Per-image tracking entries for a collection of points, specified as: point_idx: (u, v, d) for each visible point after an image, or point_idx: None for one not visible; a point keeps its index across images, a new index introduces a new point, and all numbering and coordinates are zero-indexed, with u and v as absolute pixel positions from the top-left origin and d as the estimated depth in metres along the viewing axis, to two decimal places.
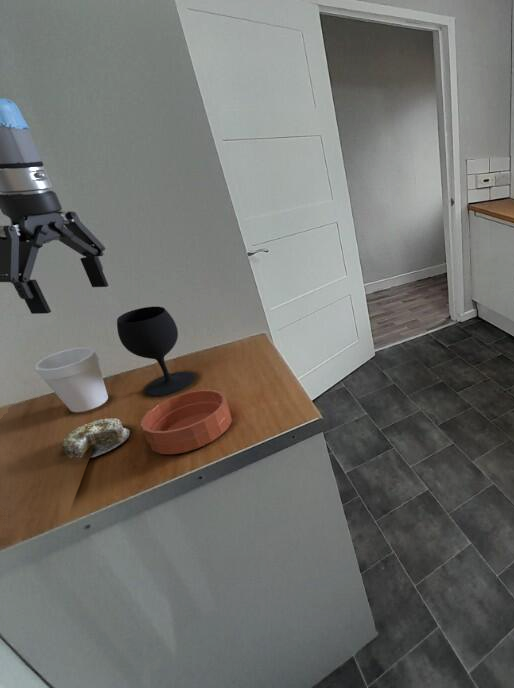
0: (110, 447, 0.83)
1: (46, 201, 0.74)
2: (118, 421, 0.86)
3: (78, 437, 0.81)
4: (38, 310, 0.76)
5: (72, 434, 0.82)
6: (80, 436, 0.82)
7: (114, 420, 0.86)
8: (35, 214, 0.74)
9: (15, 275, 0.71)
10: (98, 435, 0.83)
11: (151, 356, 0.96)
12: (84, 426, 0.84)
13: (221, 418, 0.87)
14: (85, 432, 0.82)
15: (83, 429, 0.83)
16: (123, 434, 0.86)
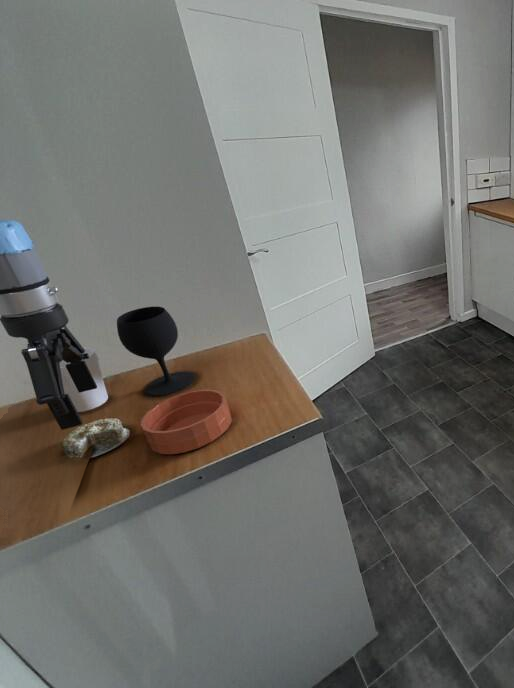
0: (110, 447, 0.83)
1: (62, 314, 0.74)
2: (118, 421, 0.86)
3: (78, 437, 0.81)
4: (70, 424, 0.75)
5: (72, 434, 0.82)
6: (80, 436, 0.82)
7: (114, 420, 0.86)
8: (55, 329, 0.73)
9: (58, 393, 0.71)
10: (98, 435, 0.83)
11: (151, 356, 0.96)
12: (84, 426, 0.84)
13: (221, 418, 0.87)
14: (85, 432, 0.82)
15: (83, 429, 0.83)
16: (123, 434, 0.86)
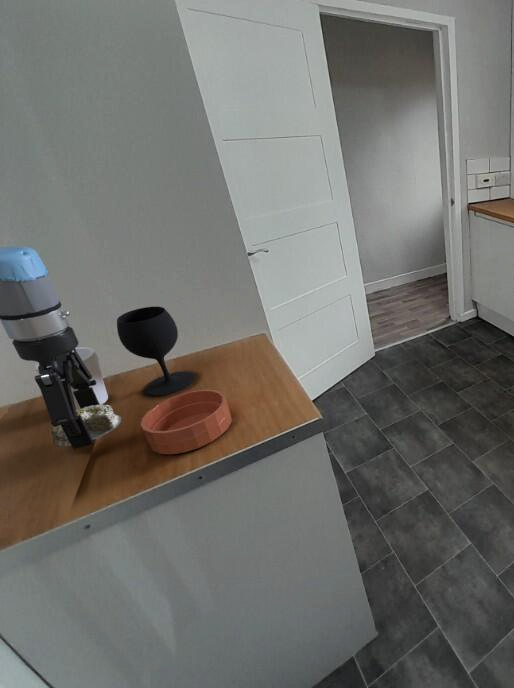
0: (101, 434, 0.82)
1: (72, 337, 0.76)
2: (109, 407, 0.84)
3: None
4: (82, 444, 0.78)
5: None
6: None
7: (105, 406, 0.84)
8: (65, 352, 0.75)
9: (72, 415, 0.74)
10: (89, 421, 0.81)
11: (151, 356, 0.96)
12: None
13: (221, 418, 0.87)
14: None
15: None
16: (114, 421, 0.84)
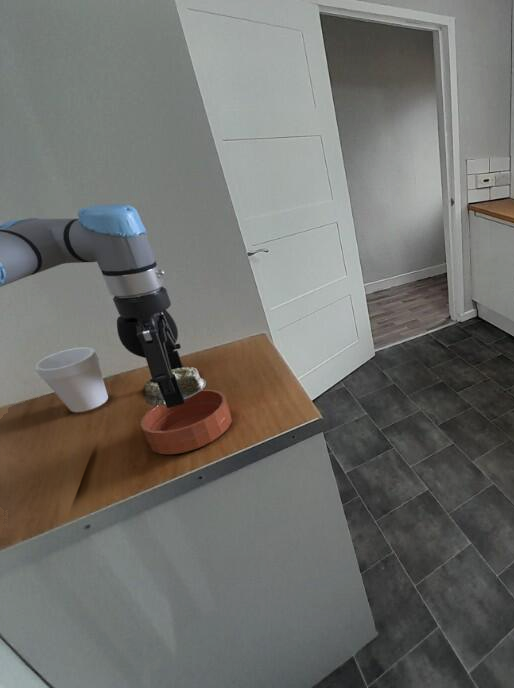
0: (190, 394, 0.83)
1: (166, 296, 0.77)
2: (195, 369, 0.85)
3: None
4: (175, 403, 0.79)
5: None
6: None
7: (191, 368, 0.85)
8: (161, 310, 0.76)
9: (169, 372, 0.75)
10: (178, 381, 0.83)
11: None
12: None
13: (221, 418, 0.87)
14: None
15: None
16: (200, 382, 0.85)
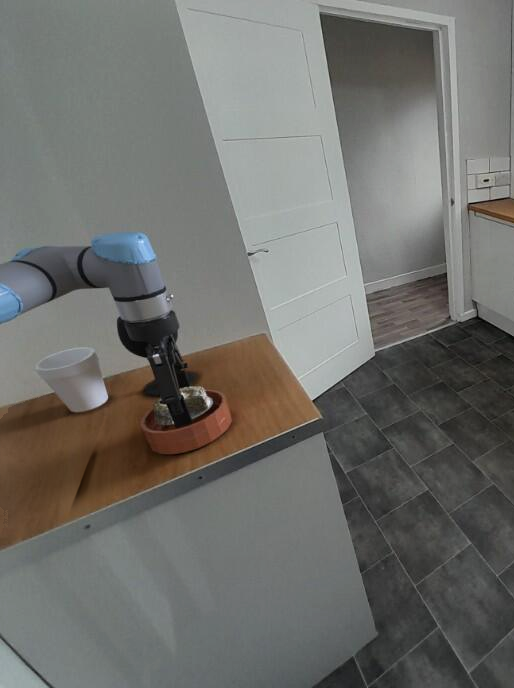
0: (197, 414, 0.85)
1: (175, 319, 0.79)
2: (203, 389, 0.87)
3: None
4: (183, 422, 0.81)
5: None
6: None
7: (199, 388, 0.87)
8: (171, 334, 0.78)
9: (178, 394, 0.77)
10: (186, 401, 0.85)
11: None
12: None
13: (221, 418, 0.87)
14: None
15: None
16: (207, 401, 0.87)
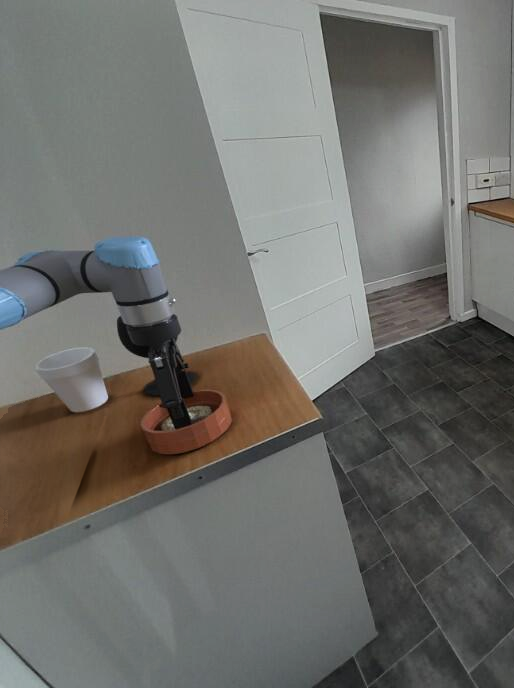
0: None
1: (177, 323, 0.79)
2: (209, 408, 0.89)
3: None
4: (183, 426, 0.81)
5: (169, 420, 0.85)
6: None
7: (205, 407, 0.89)
8: (172, 338, 0.78)
9: (179, 398, 0.77)
10: (193, 421, 0.87)
11: None
12: None
13: (221, 418, 0.87)
14: None
15: None
16: None
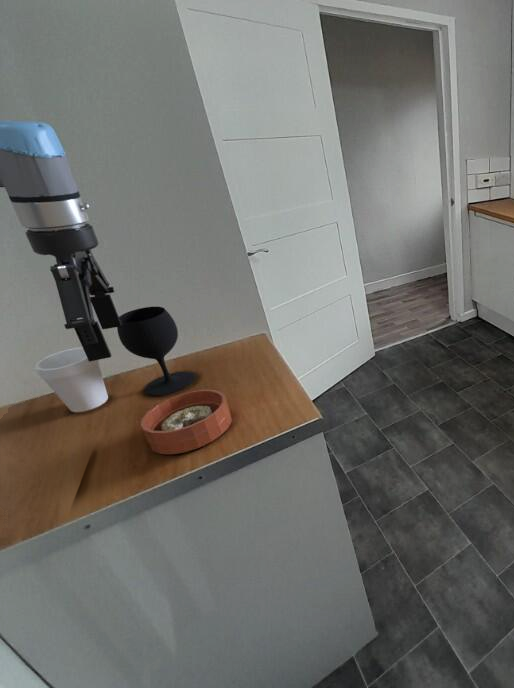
0: None
1: (92, 234, 0.67)
2: (209, 408, 0.89)
3: (175, 423, 0.85)
4: (99, 356, 0.68)
5: (169, 420, 0.85)
6: (177, 422, 0.85)
7: (205, 407, 0.89)
8: (85, 249, 0.66)
9: (89, 318, 0.64)
10: (193, 421, 0.87)
11: (151, 356, 0.96)
12: (178, 413, 0.88)
13: (221, 418, 0.87)
14: (181, 418, 0.86)
15: (178, 415, 0.87)
16: None
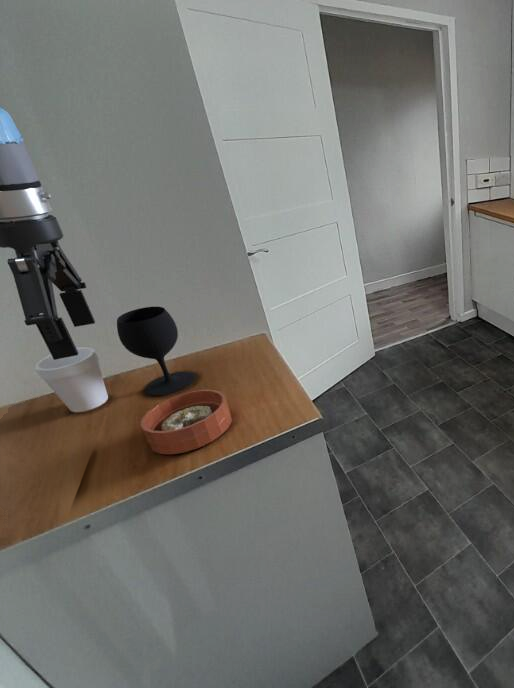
0: None
1: (55, 226, 0.64)
2: (209, 408, 0.89)
3: (175, 423, 0.85)
4: (64, 353, 0.65)
5: (169, 420, 0.85)
6: (177, 422, 0.85)
7: (205, 407, 0.89)
8: (47, 242, 0.63)
9: (50, 313, 0.61)
10: (193, 421, 0.87)
11: (151, 356, 0.96)
12: (178, 413, 0.88)
13: (221, 418, 0.87)
14: (181, 418, 0.86)
15: (178, 415, 0.87)
16: None
